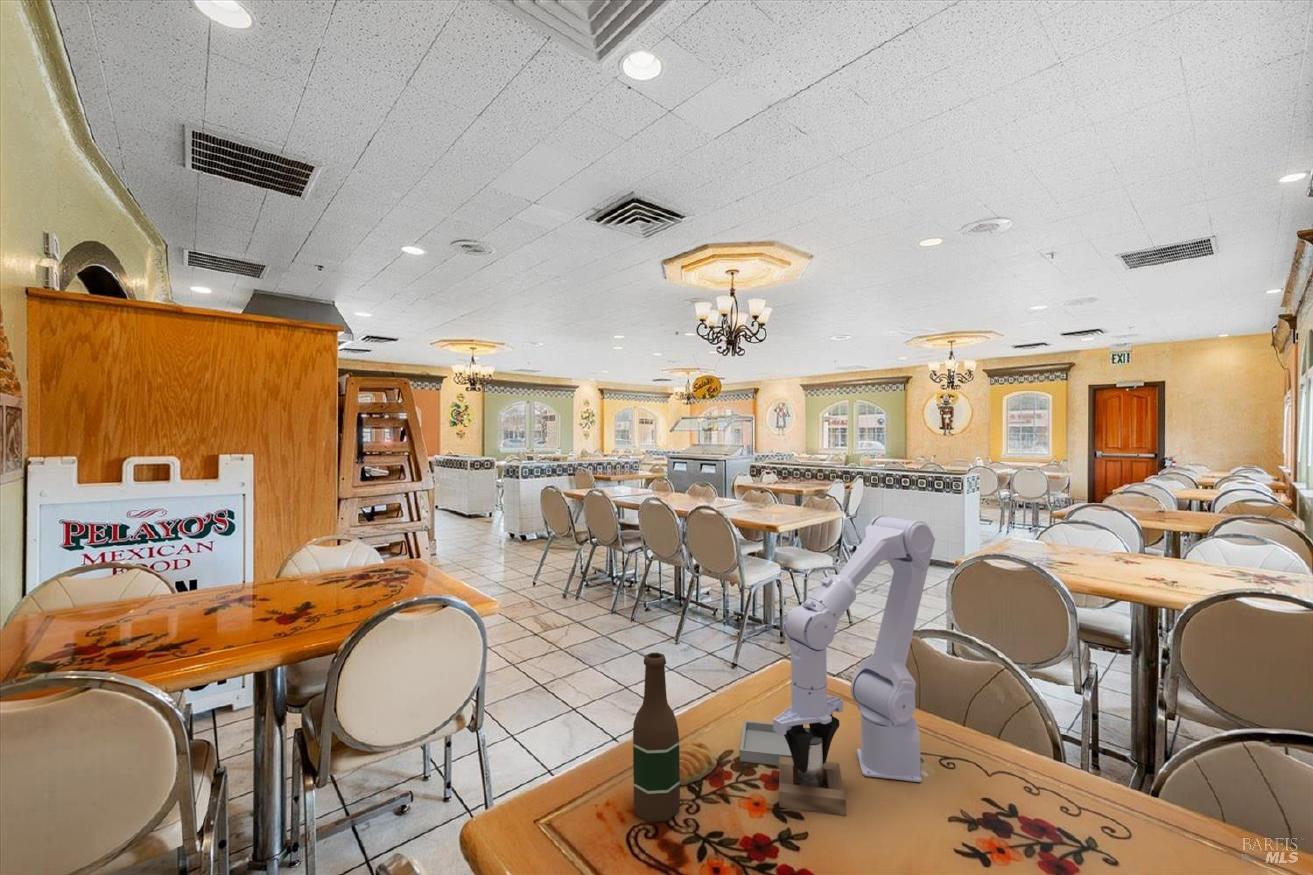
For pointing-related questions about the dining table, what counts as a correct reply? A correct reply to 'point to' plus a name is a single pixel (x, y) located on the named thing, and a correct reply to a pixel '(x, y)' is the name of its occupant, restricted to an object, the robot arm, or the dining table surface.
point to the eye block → (811, 790)
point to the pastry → (695, 762)
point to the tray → (762, 744)
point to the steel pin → (813, 762)
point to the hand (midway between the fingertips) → (810, 764)
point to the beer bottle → (656, 748)
